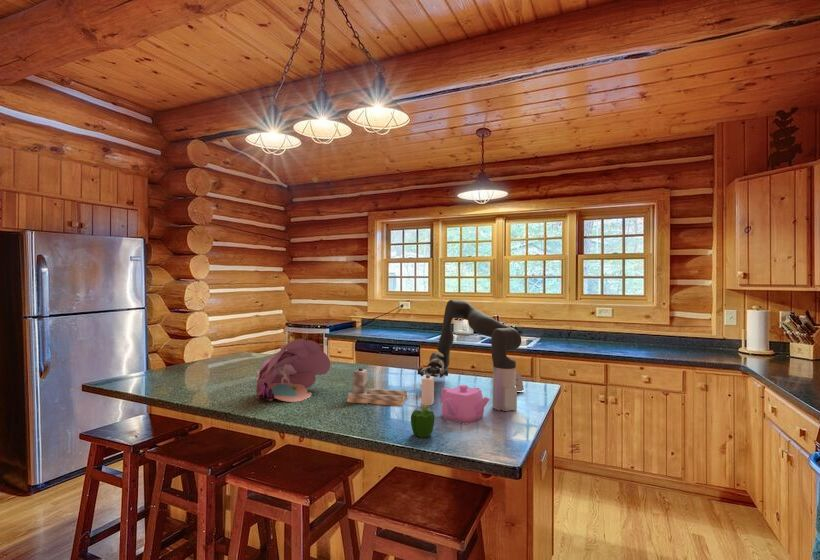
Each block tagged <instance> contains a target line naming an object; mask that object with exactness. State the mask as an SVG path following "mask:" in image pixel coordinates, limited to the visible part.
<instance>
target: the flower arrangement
mask: <svg viewBox="0 0 820 560" xmlns="http://www.w3.org/2000/svg"><path fill="white" fill-rule="evenodd" d="M278 349H279V351H278V352H277V353H276V354H274V356H273V357H271V358H268V359H266V360H265V361H264V362H263V364H262V366H261V368H260V370H259V371H256V378H257V380H256V388H255V389H256V392H255V393H256V396H257V398H258V399H259V398H260V399H263V400H267V401H270V402H271V401H273V400H274V399H277V400H278V401H283V402H288V403H290V402H291V403H298V402H301V401H304V399H305V400H307V398H308V399H309V398H310V397H311V396H312V392H311V391H310V392H308V391H309V390H308V389H309V388H311V387H312V386H313V385H314V384H315V383H316V379H317V377H316V376H322V375H325V374H327V373H328V372H329V371H330V369H331V361H330V358H329V357H328V355H327V353H326V352H324V351H323V350H322V348H321V346H320V344H319V343H318V342H316V341H315V340H310V339H307V340H305V339H304V338H297V339H294V340H293V339H292V340H291V341H289V342H288V343H286V344H284V345H283V346H281V347H279V348H278ZM297 401H298V402H297Z"/></svg>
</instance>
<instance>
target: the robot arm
mask: <svg viewBox="0 0 820 560" xmlns="http://www.w3.org/2000/svg"><path fill="white" fill-rule="evenodd" d="M444 308H445V309H444V314H443V319H442V320H443V321H442V328H441V333H440V336H439V340H438V341H437V346H436V350H437V351H438V352H432V353H431V355H430V356H429V363H428V364H427V365H426V367H423V366H419V367H418V368H417V375H420V377H423V376H426V375H430V376H434V378H437V377H439V378H443V377H444V376H445V377H448V376H449V368H448V367H449V366H450V355H451V353H450V352H451V350H452V345H453V343H454V333H453V330H452V322H453V319H461V320H462V319H464V320H465V321H467V323H468V326H469V327H470V329H471V330H472V331H474V332H476V333H478V334H479V335H481V336H484V337H489V338H490V341H491V342H490V343H491V360H492V409H494V408H495V410H496V409H497V411H500V410H503V411H502V412H504V411H507V412H511V411H510V410H514V411H517V410H518V405H517V404H518V393H517V387H516V373H517V369H516V368H517V362H516V360H515V359H514V358H511V357H508V355H507V351H513V350H517V349H518V348H520V347H521V345H522V336H521V334H520V333H519V331H518V330H517V329H516V328H513V327H511V326H508V325H506V324H503V323H501V322H500V321H499V320H496V319H494V318H493V317H491V316H489V315H488V314H487V313H484V312H482V311H481V310H479V309H477V308H475V307H474V306H473V305H472V304H471V303H469V302H468V301H466V300H461V299H460V300H459V299H450V300H448V301H447V303H446V305H445V307H444Z"/></svg>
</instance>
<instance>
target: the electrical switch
mask: <svg viewBox="0 0 820 560" xmlns="http://www.w3.org/2000/svg"><path fill="white" fill-rule="evenodd" d="M516 387H517V391H522V390H524V391H525V388H524V384H523V378H522V373H521V372H520V371H519V372H516Z"/></svg>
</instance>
